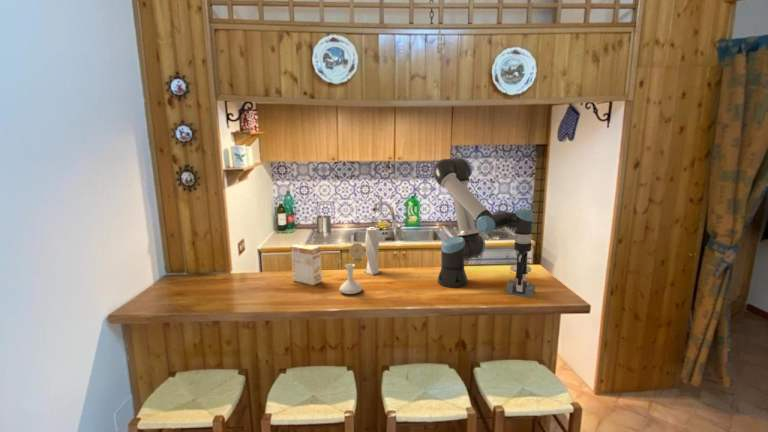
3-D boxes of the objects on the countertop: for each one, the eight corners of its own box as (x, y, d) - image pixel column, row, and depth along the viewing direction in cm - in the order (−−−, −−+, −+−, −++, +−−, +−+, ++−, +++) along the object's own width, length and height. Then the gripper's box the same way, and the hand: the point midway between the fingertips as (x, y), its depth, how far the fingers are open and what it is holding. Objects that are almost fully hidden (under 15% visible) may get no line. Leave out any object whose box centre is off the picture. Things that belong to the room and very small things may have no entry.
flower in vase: (339, 297, 198) (338, 246, 193) (338, 288, 209) (337, 240, 204) (366, 295, 200) (365, 245, 195) (364, 286, 211) (363, 239, 206)
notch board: (505, 293, 199) (506, 285, 198) (509, 288, 206) (509, 280, 205) (531, 297, 193) (532, 289, 192) (534, 292, 200) (535, 284, 199)
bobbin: (507, 287, 207) (508, 269, 205) (511, 280, 216) (512, 263, 214) (528, 290, 202) (529, 271, 201) (531, 283, 211) (532, 266, 209)
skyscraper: (383, 272, 232) (382, 224, 226) (373, 276, 226) (372, 226, 220) (372, 269, 237) (371, 222, 232) (362, 273, 232) (361, 224, 226)
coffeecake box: (322, 281, 219) (320, 246, 215) (313, 285, 213) (311, 249, 210) (301, 276, 227) (299, 242, 223) (292, 280, 221) (290, 245, 217)
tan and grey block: (516, 293, 198) (517, 279, 196) (518, 290, 201) (518, 276, 200) (525, 294, 196) (526, 280, 194) (527, 291, 199) (527, 277, 198)
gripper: (527, 247, 184) (525, 296, 188) (534, 239, 200) (532, 284, 204) (510, 245, 188) (508, 294, 191) (518, 237, 204) (516, 282, 208)
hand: (520, 289), depth 198 cm, fingers open, 6 cm apart
